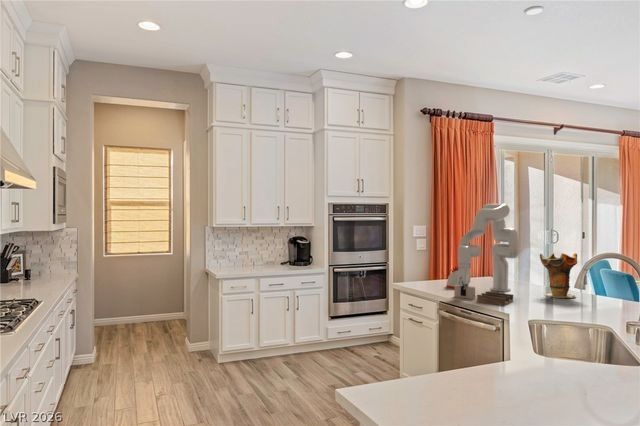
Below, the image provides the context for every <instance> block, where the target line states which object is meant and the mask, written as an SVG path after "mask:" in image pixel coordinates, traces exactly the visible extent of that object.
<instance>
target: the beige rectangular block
mask: <svg viewBox="0 0 640 426" xmlns="http://www.w3.org/2000/svg"><path fill="white" fill-rule="evenodd" d="M453 290H454V292H453V294H454V295H453V296H454V298H461V299H462V298H463V299H470V300H474V298H475V299H476V287H475V286H470V285H468V286H465V290H466V296H461V289H460V286H459V285H455V286H454V289H453Z"/></svg>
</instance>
